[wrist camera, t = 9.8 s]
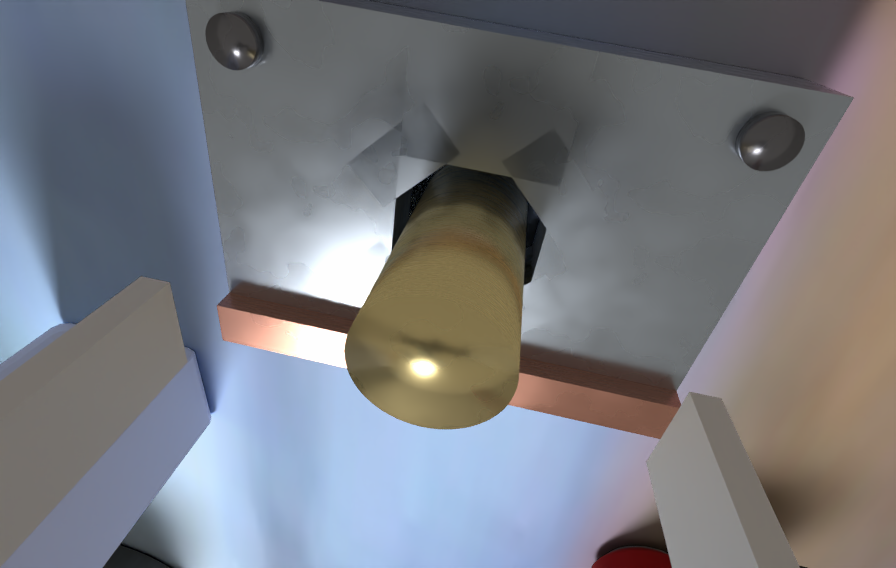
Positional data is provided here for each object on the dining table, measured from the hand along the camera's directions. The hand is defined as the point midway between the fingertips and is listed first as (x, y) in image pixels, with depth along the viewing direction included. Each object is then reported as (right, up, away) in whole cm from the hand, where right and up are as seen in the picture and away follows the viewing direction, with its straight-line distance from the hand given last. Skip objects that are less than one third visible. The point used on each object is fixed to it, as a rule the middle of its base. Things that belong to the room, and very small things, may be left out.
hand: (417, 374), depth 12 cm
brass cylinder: (+2, +6, +8) cm, 10 cm away
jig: (+2, +6, +8) cm, 10 cm away
